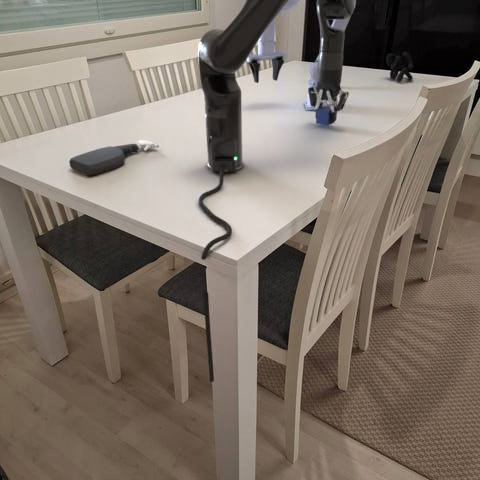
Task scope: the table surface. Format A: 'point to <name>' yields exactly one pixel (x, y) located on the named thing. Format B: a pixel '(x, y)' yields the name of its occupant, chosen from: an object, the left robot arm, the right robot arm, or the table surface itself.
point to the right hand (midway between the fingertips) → (265, 81)
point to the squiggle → (399, 66)
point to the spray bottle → (106, 157)
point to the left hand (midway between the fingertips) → (325, 121)
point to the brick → (323, 115)
